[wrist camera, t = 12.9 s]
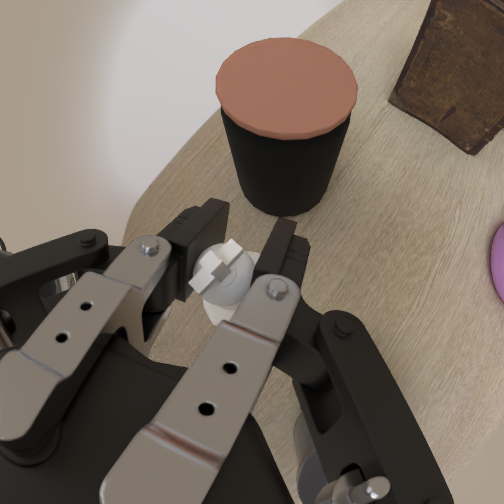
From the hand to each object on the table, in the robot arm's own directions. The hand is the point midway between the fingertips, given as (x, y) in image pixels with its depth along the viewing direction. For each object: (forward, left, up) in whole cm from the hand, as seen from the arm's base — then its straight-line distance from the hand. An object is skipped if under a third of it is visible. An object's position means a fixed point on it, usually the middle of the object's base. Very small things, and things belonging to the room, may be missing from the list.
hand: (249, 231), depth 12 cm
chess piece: (0, -2, -6) cm, 6 cm away
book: (+18, +31, -24) cm, 43 cm away
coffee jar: (-2, +13, -24) cm, 27 cm away
